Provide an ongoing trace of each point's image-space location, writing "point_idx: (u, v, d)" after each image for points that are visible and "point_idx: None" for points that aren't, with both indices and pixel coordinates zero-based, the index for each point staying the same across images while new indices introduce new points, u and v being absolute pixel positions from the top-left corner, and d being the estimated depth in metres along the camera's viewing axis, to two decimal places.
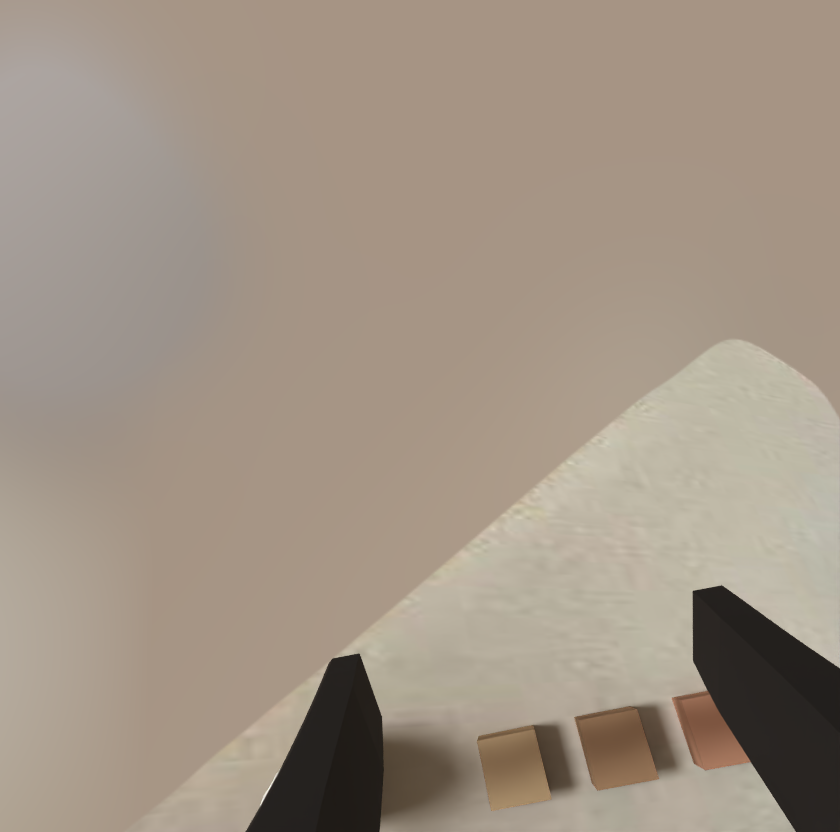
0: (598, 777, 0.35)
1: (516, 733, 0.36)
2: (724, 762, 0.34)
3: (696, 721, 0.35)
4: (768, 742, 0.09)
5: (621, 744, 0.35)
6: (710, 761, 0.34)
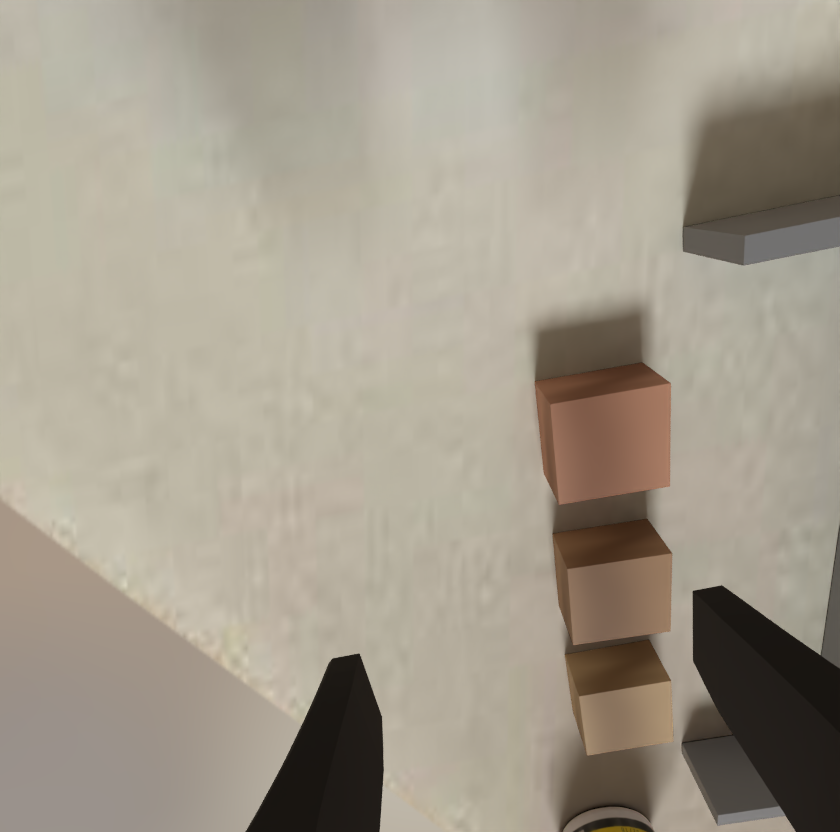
0: (653, 628, 0.22)
1: (582, 714, 0.24)
2: (664, 455, 0.19)
3: (595, 487, 0.19)
4: (768, 742, 0.09)
5: (615, 595, 0.21)
6: (658, 476, 0.19)
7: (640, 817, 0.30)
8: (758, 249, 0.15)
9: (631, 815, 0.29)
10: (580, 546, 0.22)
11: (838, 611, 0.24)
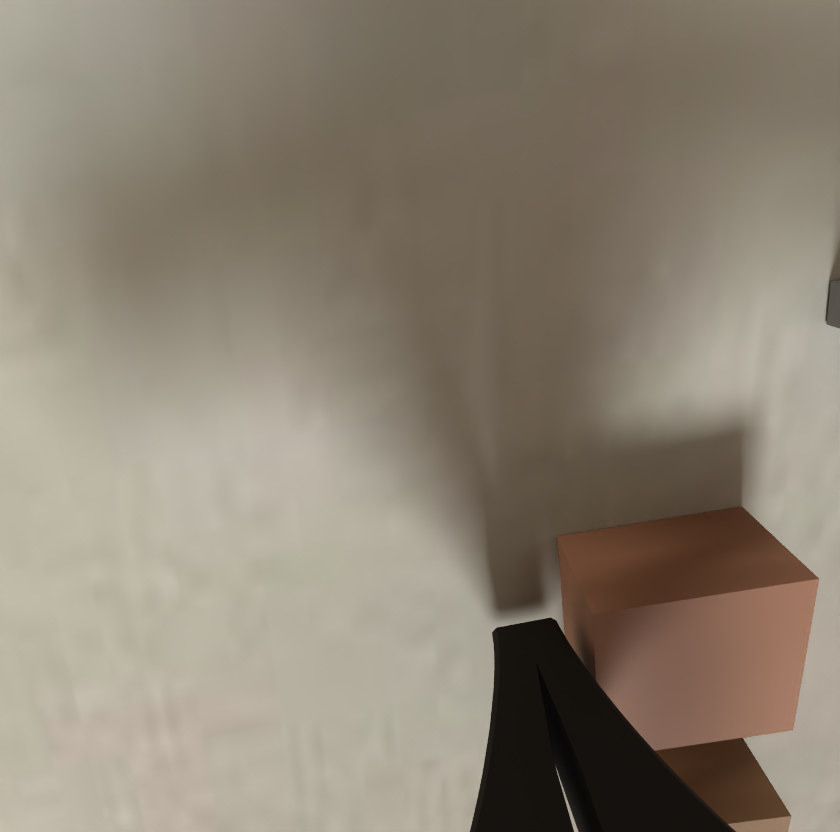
0: None
1: None
2: (789, 687, 0.10)
3: (664, 733, 0.11)
4: (567, 776, 0.09)
5: None
6: (776, 717, 0.11)
7: None
8: None
9: None
10: None
11: None
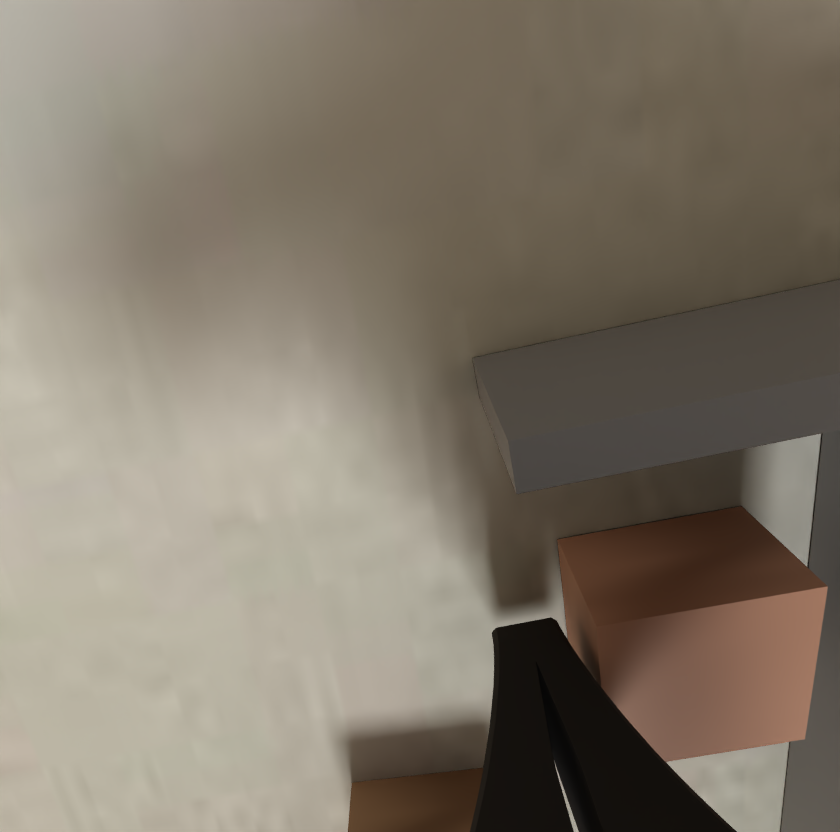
0: None
1: None
2: (800, 696, 0.10)
3: (672, 744, 0.11)
4: (567, 776, 0.09)
5: None
6: (787, 726, 0.11)
7: None
8: (542, 464, 0.07)
9: None
10: (381, 822, 0.14)
11: None
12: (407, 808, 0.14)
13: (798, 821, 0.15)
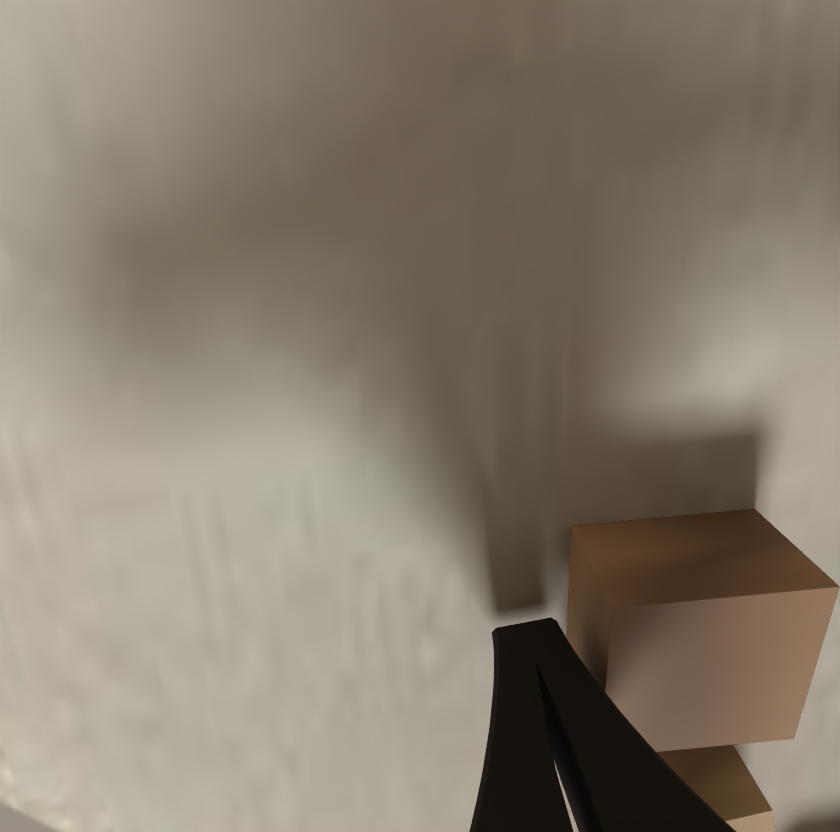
0: (763, 732, 0.11)
1: None
2: None
3: None
4: (567, 776, 0.09)
5: (702, 666, 0.10)
6: None
7: None
8: None
9: None
10: (633, 559, 0.10)
11: None
12: (661, 547, 0.11)
13: None
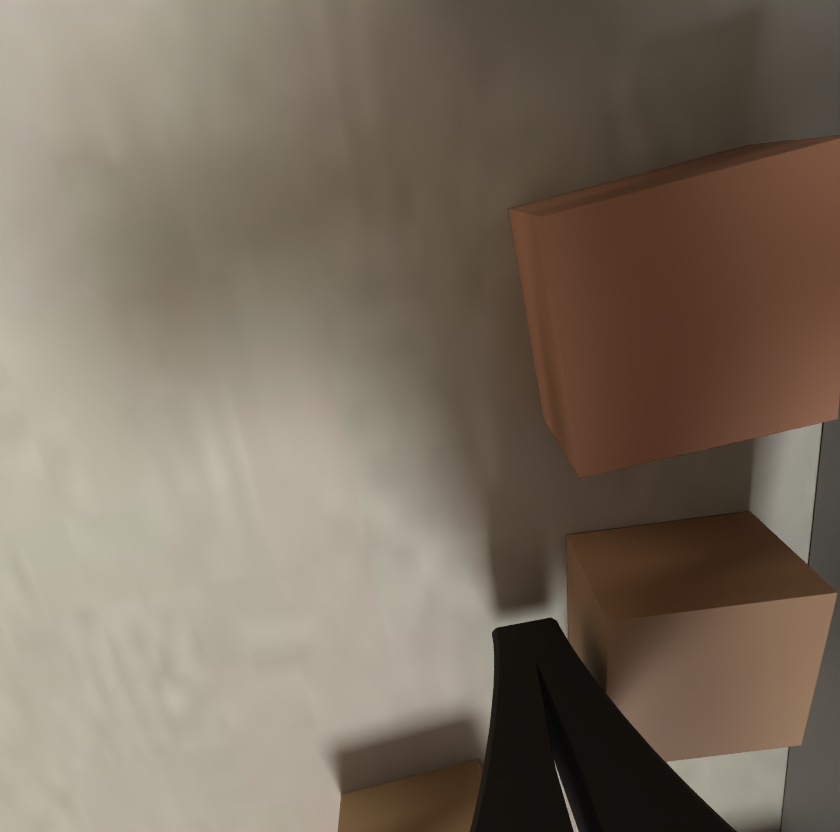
0: (769, 739, 0.11)
1: None
2: (828, 342, 0.08)
3: (662, 431, 0.08)
4: (567, 776, 0.09)
5: (703, 676, 0.10)
6: (813, 397, 0.08)
7: None
8: None
9: None
10: (629, 570, 0.10)
11: (810, 717, 0.13)
12: (657, 556, 0.11)
13: None
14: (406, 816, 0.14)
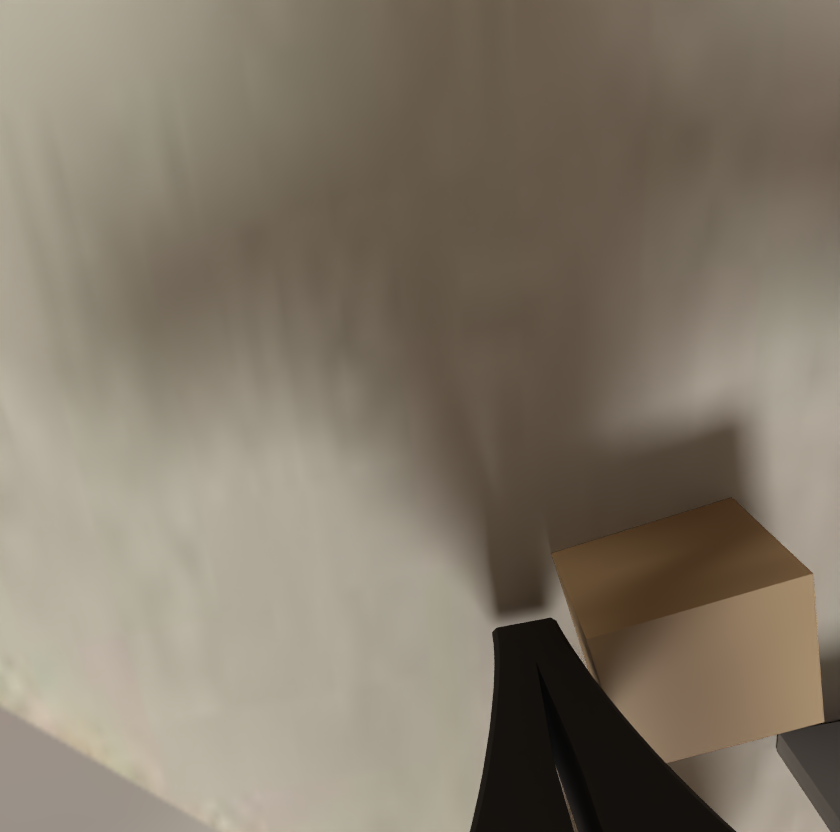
0: None
1: (601, 681, 0.10)
2: None
3: None
4: (567, 776, 0.09)
5: None
6: None
7: None
8: None
9: None
10: None
11: None
12: None
13: None
14: (659, 560, 0.11)
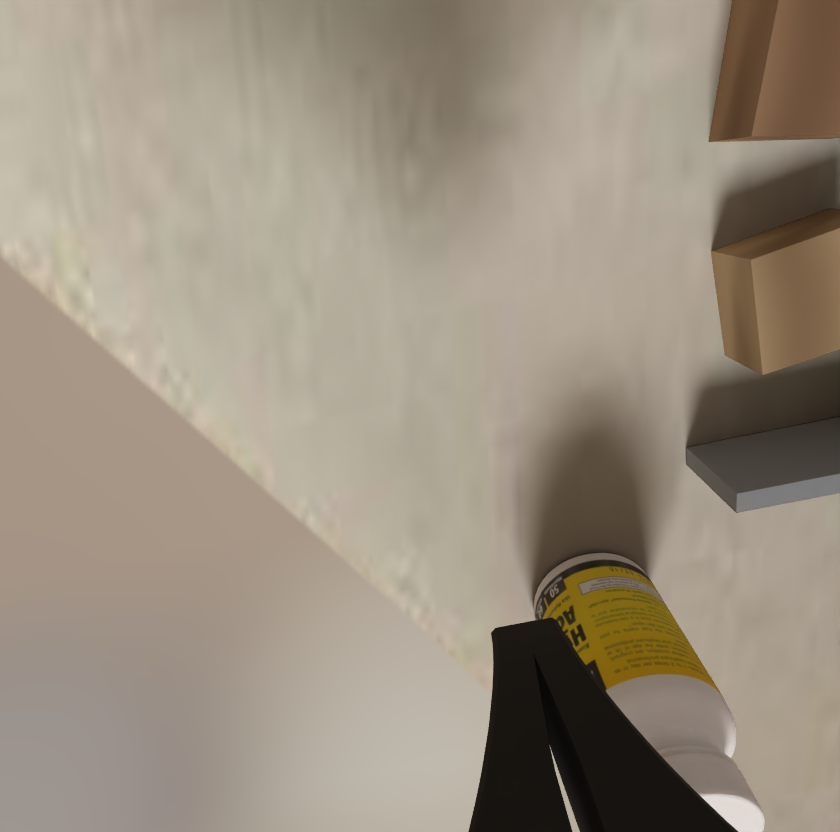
0: None
1: (754, 297, 0.17)
2: None
3: None
4: (568, 776, 0.09)
5: (839, 34, 0.14)
6: None
7: (634, 563, 0.23)
8: None
9: (622, 559, 0.23)
10: None
11: None
12: None
13: None
14: (786, 233, 0.17)
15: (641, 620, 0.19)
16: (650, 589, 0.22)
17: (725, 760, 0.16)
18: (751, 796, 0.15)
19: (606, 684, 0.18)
